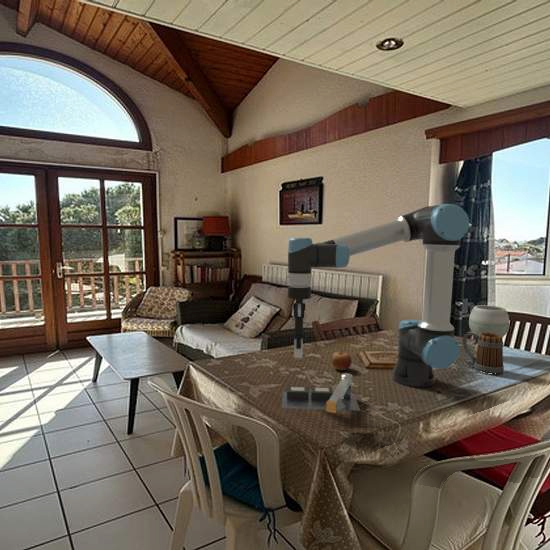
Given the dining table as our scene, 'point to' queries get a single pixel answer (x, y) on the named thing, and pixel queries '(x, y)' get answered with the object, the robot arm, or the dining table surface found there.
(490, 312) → the planter
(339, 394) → the cable arm
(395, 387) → the dining table surface
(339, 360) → the apple
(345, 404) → the chassis
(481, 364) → the mug
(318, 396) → the power supply
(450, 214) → the robot arm
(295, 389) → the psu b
